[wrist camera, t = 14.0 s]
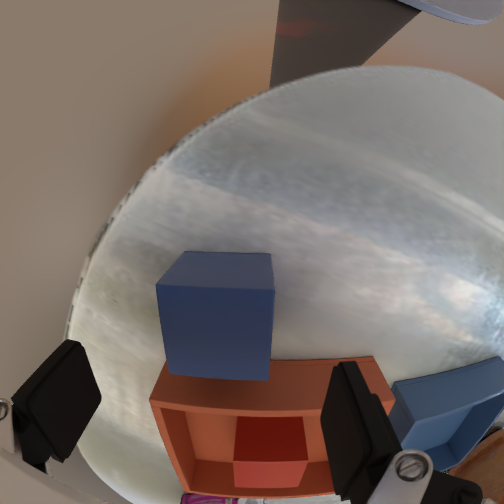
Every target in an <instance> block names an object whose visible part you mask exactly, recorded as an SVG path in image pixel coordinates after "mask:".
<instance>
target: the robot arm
mask: <svg viewBox="0 0 504 504" xmlns="http://www.w3.org/2000/svg"><path fill="white" fill-rule="evenodd" d="M101 398H102V397H101V393H100V390H99V388H98V385H97V383H96V380H95V377H94V375H93V372H92V369H91V366H90V363H89V361H88V358H87V355H86V351H85V349H84V347H83V346H82V345H81V343H80V342H78V341H74V340H70V339H66V340H65V341H64V342H63V343H62V344H61V345H60V346H59V347H58V348H57V349H56V350H55V351H54V352H53V353H52V354H51V355H50V356H49V357H48V358H47V359H46V360H45V361H44V362H43V363H42V364H41V366H40V367H39V368H38V369H37V370H36V371H35V372H34V373H33V374H32V375H31V376H30V377H29V378H28V379H27V381H26V382H25V383H24V384H23V385H22V386H21V387H20V388H19V389H18V391H17V392H16V393H15V394H14V395H13V396H12V397H11V399H12V401H13V403H14V404H13V405H11V404H10V402H9V401H7V400H6V399H3V398H0V504H111V503H108V502H106V501H103V500H100V499H97V498H95V497H93V496H90V495H88V494H86V493H83V492H81V491H79V490H76V489H74V488H72V487H70V486H68V485H66V484H64V483H62V482H60V481H58V480H56V479H54V478H53V475H52V471H51V467H50V463H49V457H50V456H51V457H52V458H53V459H55V460H57V461H59V462H61V463H63V462H64V460H65V458H68V457H69V456H70V454H71V452H72V451H73V449H74V447H75V445H76V444H77V442H78V440H79V438H80V437H81V435H82V433H83V431H84V430H85V428H86V426H87V425H88V423H89V421H90V419H91V418H92V416H93V414H94V413H95V411H96V409H97V408H98V406H99V404H100V402H101ZM320 423H321V428H322V433H323V437H324V442H325V447H326V452H327V457H328V461H329V466H330V471H331V476H332V481H333V487H334V491H335V494H336V495H340V497H341V501H345V500H350V501H351V504H498V503H496V502H495V501H493V500H491V499H490V498H487V499H486V500H485V499H483V492H482V489H481V487H480V486H479V485H478V484H477V483H475V482H472V481H469V480H465V479H462V478H459V477H455V476H452V475H449V474H446V473H443V472H440V471H437V470H434V469H433V462H432V460H431V458H430V456H428V455H427V454H426V453H425V452H423V451H421V450H417V449H406V450H403V449H402V447H401V444H400V442H399V440H398V438H397V435H396V433H395V431H394V429H393V426H392V424H391V422H390V420H389V418H388V416H387V413H386V411H385V409H384V407H383V405H382V403H381V401H380V398H379V397H378V395H377V394H375V393H372V394H371V392H370V390H369V388H368V385H367V383H366V381H365V379H364V377H363V375H362V373H361V370H360V368H359V366H358V364H357V362H356V361H341V362H339V363H338V366H334V367H333V369H332V373H331V378H330V382H329V386H328V389H327V393H326V397H325V401H324V404H323V408H322V411H321V415H320Z"/></svg>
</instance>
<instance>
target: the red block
mask: <svg viewBox="0 0 504 504" xmlns="http://www.w3.org/2000/svg"><path fill="white" fill-rule="evenodd" d="M308 461H309V458H308V451H307V444H306V437H305V429H304V423H303V416H299V417H248V416H237V422H236V433H235V444H234V455H233V469H234V484H235V487H242V488H289V487H298V486H299V483H300V481H301V479H302V476H303V474H304V471H305V469H306V466H307V464H308Z"/></svg>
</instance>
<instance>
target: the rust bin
mask: <svg viewBox="0 0 504 504" xmlns="http://www.w3.org/2000/svg"><path fill="white" fill-rule="evenodd" d="M341 361H356V362H357V364H358V366H359V368H360V370H361V373H362V375H363V377H364V379H365V381H366V383H367V385H368V388H369V390H370V392H371V394H372V393H375V394H377V395H378V397H379V398H380V401H381V403H382V405H383V407H384V409H385V411H386V413H387V416H388V415H389V413H390V411H391V409H392V406H393V405H394V403H395V400H396V399H395V397H394V395H393V393H392V391H391V389H390V387H389V385H388V383H387V382H386V380H385V378H384V376H383V374H382V372H381V370H380V368H379V366H378V364H377V363H376V362H375V359H374V357H373V356H372V357H360V358H347V359H329V360H289V361H280V360H270V369H269V380H268V381H255V380H232V379H217V378H204V377H194V376H185V375H177V374H170V373H169V370H168V364H167V360H166V362H165V364H164V366H163V369H162V371H161V373H160V375H159V377H158V380H157V382H156V384H155V386H154V389H153V391H152V393H151V395H150V398H149V402H150V405H151V408H152V411H153V414H154V417H155V420H156V423H157V426H158V429H159V431H160V434H161V437H162V440H163V442H164V445H165V447H166V450H167V452H168V455H169V457H170V460H171V462H172V464H173V467H174V469H175V471H176V474H177V476H178V478H179V480H180V482H181V485H182V487H183V489H184V491H185V492H188V493H195V494H202V495H210V496H220V497H232V498H255V499H275V498H297V497H310V496H319V495H327V494H335V491H334V487H333V481H332V476H331V471H330V466H329V461H328V457H327V452H326V447H325V442H324V437H323V433H322V428H321V423H320V415H321V411H322V408H323V404H324V401H325V397H326V393H327V389H328V386H329V382H330V378H331V373H332V369H333V367H334V366H338V363H339V362H341ZM237 416H248V417H299V416H303V423H304V429H305V437H306V444H307V451H308V458H309V461H308V464H307V466H306V469H305V471H304V474H303V476H302V479H301V481H300V483H299V486H298V487H289V488H242V487H235V484H234V469H233V455H234V444H235V433H236V422H237Z"/></svg>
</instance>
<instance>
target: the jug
mask: <svg viewBox="0 0 504 504" xmlns="http://www.w3.org/2000/svg"><path fill="white" fill-rule="evenodd" d="M448 474H449V475H452V476H455V477H459V478H462V479H465V480H469V481H472V482H475V483H477V484H478V485H479V486H480V487H481V489H482V492H483V499H485V500H486V499H487V498H490V499H491V500H493V501H495V502H496V503H498V504H504V429H500V430H498V431H496V432H494V433H493V434H492V435H490V436H488V437H487V438H486V439H485V440H483V441H482V442H481V443H479V444H478V445H477V446H476V447H475V448H474V449H473V450H472V451H471V452H470V453H469V454H468V455H467V456H466V457H465V458H464V460H463V461H462V462H461V463H460V464H458V465H456V466H454V467H452V468H451V470H450V471H449V473H448Z"/></svg>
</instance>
